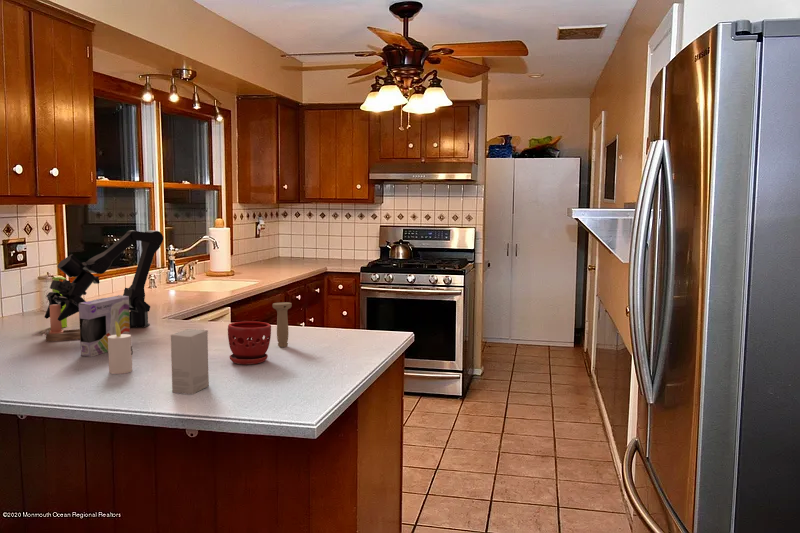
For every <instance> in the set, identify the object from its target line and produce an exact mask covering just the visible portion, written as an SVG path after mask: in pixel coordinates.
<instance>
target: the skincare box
mask: <svg viewBox="0 0 800 533" xmlns="http://www.w3.org/2000/svg"><path fill="white" fill-rule="evenodd" d="M208 334H209V330H208V329H198V328H197V329H196V328H195V329H194V328H187V329H184V330H181V331H177V332H175V333H173V334H170V352H171V353H170V356H171V359H170V360H171V387H172V388H171V390H172V393H175V394H176V393H177V394H185V395H186V394H187V395H195V393H198V392H200V391H202V390H204V389H206V388H208V387H209V386H210V381H209V379H210V377H209V376H210V374H209V342H208V341H209V338H208V336H209V335H208Z"/></svg>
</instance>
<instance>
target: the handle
mask: <svg viewBox="0 0 800 533" xmlns="http://www.w3.org/2000/svg"><path fill="white" fill-rule="evenodd" d="M272 308H273V309H274V310H276V313H277V316H276V318H277V319H276V339H277V346H278V348H287V347H288V345H289V343H288V341H289V321H288V310H289V309H291V308H292V302H289V301H288V302H287V301H286V302H285V301H283V302H274V303H272Z"/></svg>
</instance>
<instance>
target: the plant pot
mask: <svg viewBox="0 0 800 533" xmlns="http://www.w3.org/2000/svg"><path fill="white" fill-rule="evenodd" d="M271 336H272V325H271V324H270V323H268V322H263V321H236V322H230V323H229V324H228V325H227V339H228V346H229V349H230V351H231V353H232V354H230V355H229V360H230V361H231V362H232V363H234V364H236V365H244V366H245V365H246V366H248V365H257V364H261V363H264V362H265V361H266V360H268V357H269V355H268V354H267V351H268V349H269V347H270V342H271ZM263 337H264V338H263Z"/></svg>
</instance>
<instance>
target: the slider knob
mask: <svg viewBox="0 0 800 533" xmlns="http://www.w3.org/2000/svg"><path fill="white" fill-rule="evenodd" d="M48 306H50V317H49V322H50V330H49V331H50V332H49V334H58V333H63V330H64V329H63V328H62V323H61V321H59V320H58V317H59V316H60V314H61V305H60V304H54V305H49V304H48Z"/></svg>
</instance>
